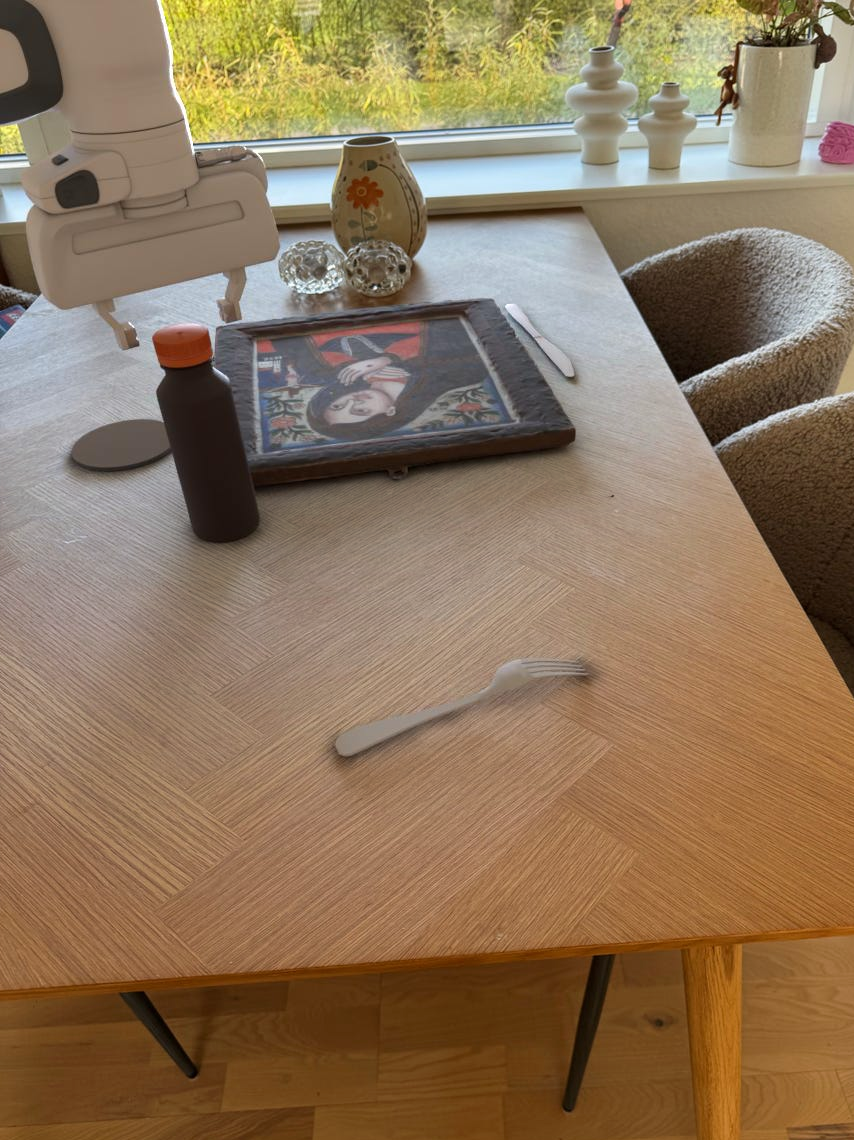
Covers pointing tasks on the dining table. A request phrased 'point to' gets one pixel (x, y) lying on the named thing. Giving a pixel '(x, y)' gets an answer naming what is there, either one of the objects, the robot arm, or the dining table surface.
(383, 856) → the dining table surface
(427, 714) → the fork
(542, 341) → the butter knife
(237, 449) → the vinegar
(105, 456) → the coaster
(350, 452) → the religious icon
